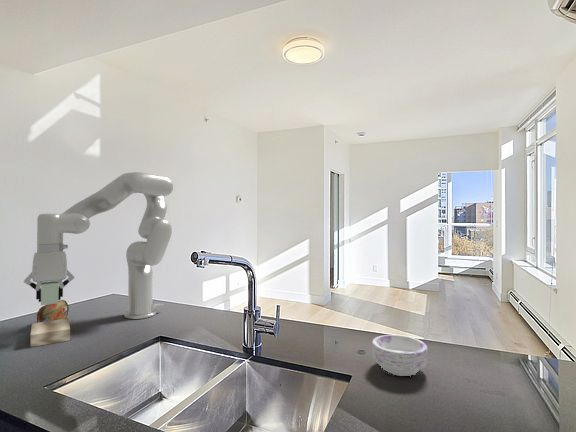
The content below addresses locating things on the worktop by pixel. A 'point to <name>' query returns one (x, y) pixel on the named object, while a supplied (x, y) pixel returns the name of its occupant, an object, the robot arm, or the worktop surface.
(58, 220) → the robot arm
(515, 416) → the worktop surface
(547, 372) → the worktop surface
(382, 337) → the white round bowl
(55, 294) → the block
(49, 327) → the riser block
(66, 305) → the tin
